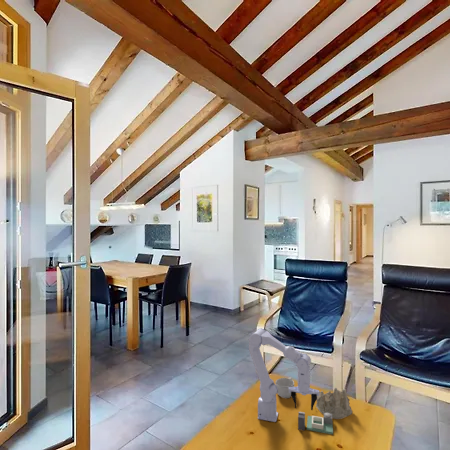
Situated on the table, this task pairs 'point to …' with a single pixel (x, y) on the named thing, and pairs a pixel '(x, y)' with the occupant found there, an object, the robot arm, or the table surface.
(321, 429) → the board
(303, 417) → the plug
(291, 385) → the teacup
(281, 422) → the table surface
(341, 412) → the grey jagged lump
